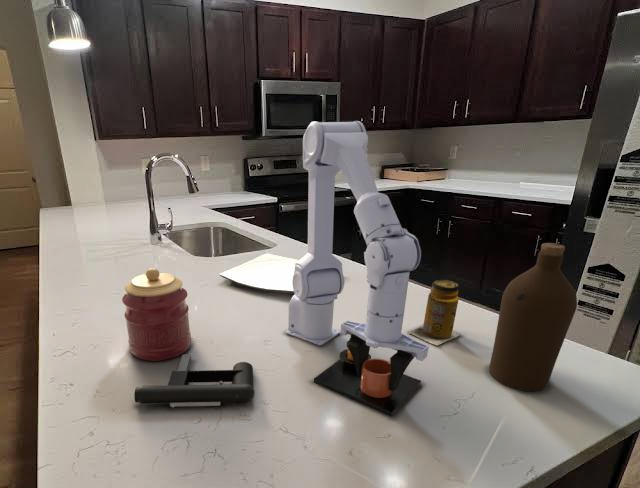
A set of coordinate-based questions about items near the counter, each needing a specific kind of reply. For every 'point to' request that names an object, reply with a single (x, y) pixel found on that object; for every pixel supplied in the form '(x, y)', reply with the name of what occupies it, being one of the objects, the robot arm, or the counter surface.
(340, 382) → the scale
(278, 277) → the plate
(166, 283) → the kitchen canister
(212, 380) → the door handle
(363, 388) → the cup
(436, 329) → the condiment
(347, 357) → the button
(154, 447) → the counter surface
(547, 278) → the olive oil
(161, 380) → the counter surface
